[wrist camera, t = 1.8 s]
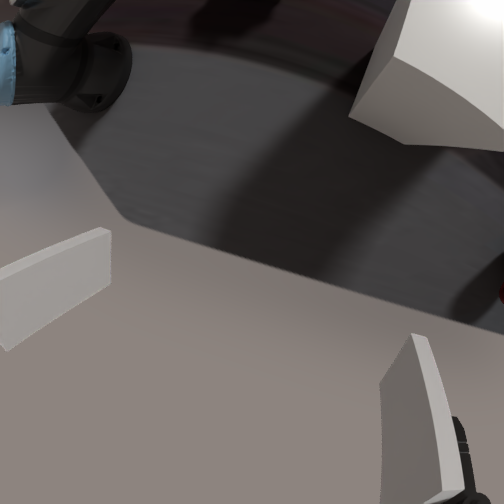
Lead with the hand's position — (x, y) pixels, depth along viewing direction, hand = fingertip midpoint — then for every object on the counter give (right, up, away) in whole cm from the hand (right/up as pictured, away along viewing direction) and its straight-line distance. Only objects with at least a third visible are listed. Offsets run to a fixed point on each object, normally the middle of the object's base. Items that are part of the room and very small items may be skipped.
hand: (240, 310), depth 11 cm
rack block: (+18, +22, +18) cm, 34 cm away
